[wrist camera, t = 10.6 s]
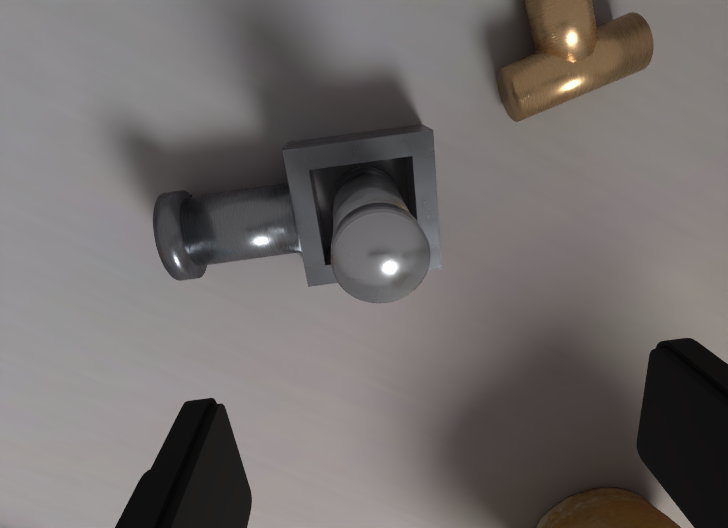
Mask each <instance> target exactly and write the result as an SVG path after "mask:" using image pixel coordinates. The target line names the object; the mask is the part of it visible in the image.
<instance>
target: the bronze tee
mask: <svg viewBox="0 0 728 528" xmlns="http://www.w3.org/2000/svg"><path fill="white" fill-rule="evenodd" d="M524 2H525V6H526V11H527V15H528V20H529V24H530V29H531V33H532V38H533V42H534V47H535V51H536V53H535V54H532V55H530V56H528V57H525V58H523V59H521V60H518V61H516V62H514V63H511V64H509V65H507V66H504V67H502V68H500V70H499V72H498V88H499V93H500V97H501V100H502V103H503V105H504V107H505V110H506V111H507V113H508V115H509V116H510V118H511V119H512V120H514V121H515V122H518V121H521V120H523V119H526V118H528V117H530V116H533V115H535V114H538V113H540V112H542V111H545V110H547V109H550V108H552V107H554V106H557V105H559V104H562V103H564V102H566V101H569V100H571V99H574V98H576V97H578V96H581V95H583V94H586V93H588V92H590V91H593V90H595V89H598V88H600V87H602V86H605V85H607V84H610V83H612V82H614V81H617V80H619V79H622V78H624V77H626V76H629V75H631V74H634V73H636V72H639V71H641V70H643V69H645V68H646V67H647V66H648V64H649V63H650V61H651V58H652V54H653V38H652V33H651V30H650V27H649V25H648V23H647V22H646V20H645V19H644V18H643V17H642V16H641V15H639V14H637V13H633V12H632V13H628V14H626V15H623V16H621V17H619V18H616V19H614V20H612V21H609V22H607V23H605V24H602V25H600V26H598V27H597V26H596V20H595V14H594V8H593V2H592V0H524Z"/></svg>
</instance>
